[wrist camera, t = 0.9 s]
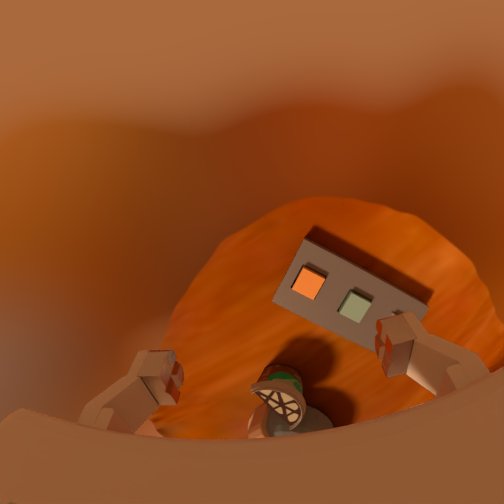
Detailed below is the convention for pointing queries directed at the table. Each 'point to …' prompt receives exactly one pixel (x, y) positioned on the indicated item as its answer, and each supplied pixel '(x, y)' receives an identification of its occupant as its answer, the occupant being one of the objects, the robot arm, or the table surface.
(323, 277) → the orange button
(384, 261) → the table surface
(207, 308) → the table surface
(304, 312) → the button board
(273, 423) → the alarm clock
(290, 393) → the food container
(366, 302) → the olive green button
